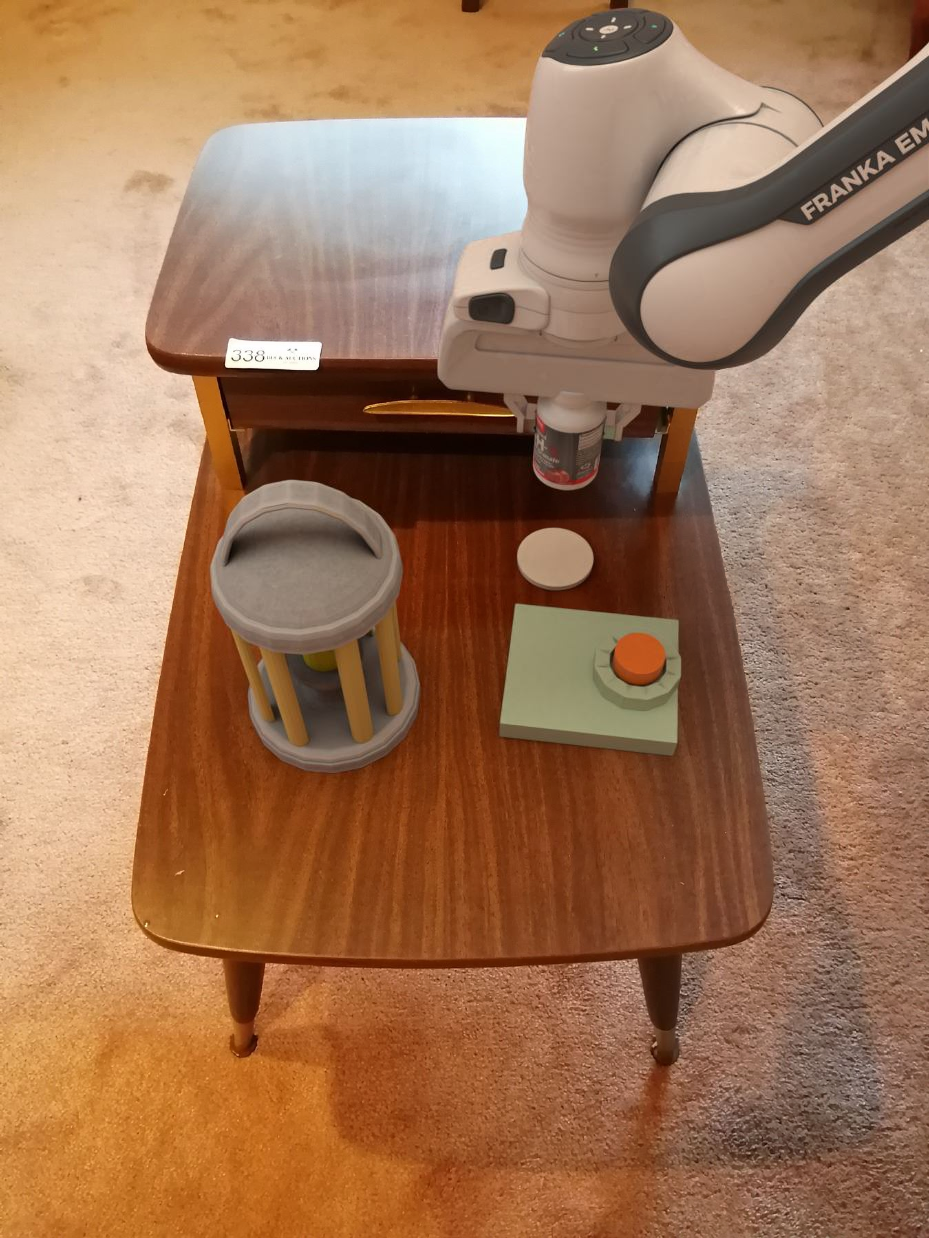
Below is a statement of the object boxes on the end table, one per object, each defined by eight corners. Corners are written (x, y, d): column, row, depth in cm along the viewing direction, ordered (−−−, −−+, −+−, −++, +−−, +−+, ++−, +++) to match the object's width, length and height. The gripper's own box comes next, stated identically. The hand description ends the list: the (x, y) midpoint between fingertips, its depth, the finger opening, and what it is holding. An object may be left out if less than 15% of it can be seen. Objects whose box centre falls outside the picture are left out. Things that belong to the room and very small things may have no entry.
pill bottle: (518, 469, 81) (523, 376, 73) (561, 436, 83) (570, 342, 75) (568, 503, 79) (579, 410, 71) (611, 468, 81) (626, 375, 73)
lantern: (418, 623, 87) (399, 408, 66) (423, 768, 78) (403, 572, 58) (256, 632, 86) (188, 418, 66) (244, 778, 78) (161, 584, 58)
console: (674, 634, 86) (682, 607, 83) (673, 756, 79) (681, 731, 76) (514, 618, 87) (516, 590, 84) (499, 736, 80) (500, 711, 77)
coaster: (595, 535, 93) (595, 531, 92) (590, 594, 89) (591, 590, 88) (520, 528, 93) (521, 524, 93) (513, 586, 89) (513, 582, 89)
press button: (662, 647, 81) (666, 634, 79) (661, 688, 78) (665, 676, 77) (613, 642, 81) (616, 629, 80) (611, 682, 79) (613, 671, 77)
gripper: (738, 263, 67) (701, 415, 79) (443, 242, 69) (448, 394, 80) (741, 321, 64) (701, 471, 75) (429, 297, 66) (436, 448, 77)
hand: (568, 431), depth 78 cm, fingers closed on pill bottle, 5 cm apart
